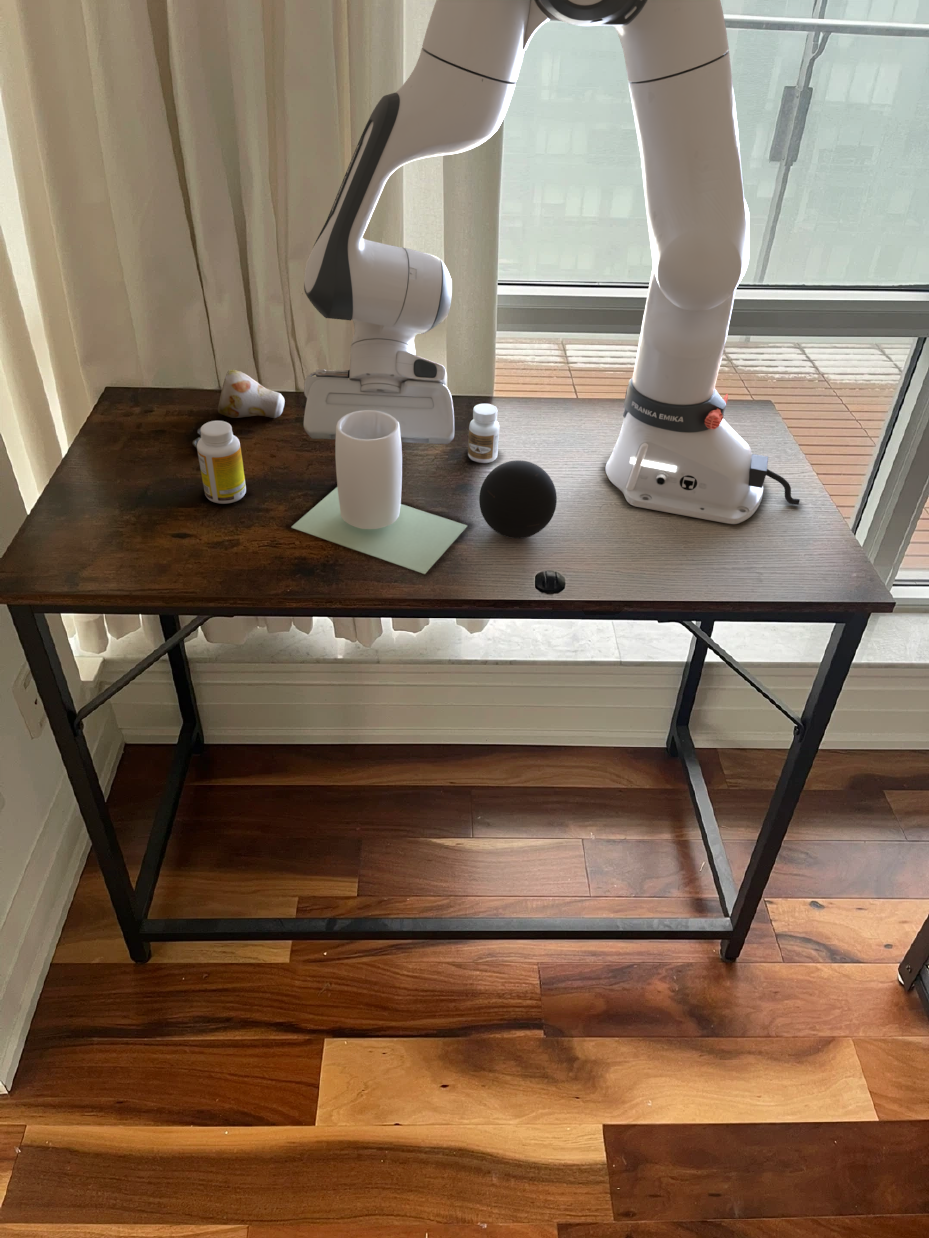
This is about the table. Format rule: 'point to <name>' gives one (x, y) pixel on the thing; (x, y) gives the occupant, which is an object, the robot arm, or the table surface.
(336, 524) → the mat
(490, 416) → the pill bottle
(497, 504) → the speaker
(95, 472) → the table surface
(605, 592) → the table surface
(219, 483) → the supplement bottle
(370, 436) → the cup
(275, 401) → the white spotted container
